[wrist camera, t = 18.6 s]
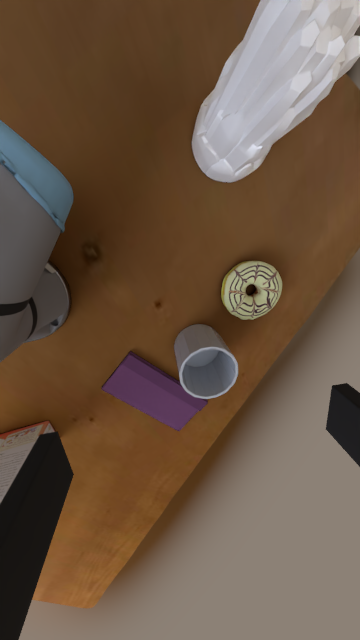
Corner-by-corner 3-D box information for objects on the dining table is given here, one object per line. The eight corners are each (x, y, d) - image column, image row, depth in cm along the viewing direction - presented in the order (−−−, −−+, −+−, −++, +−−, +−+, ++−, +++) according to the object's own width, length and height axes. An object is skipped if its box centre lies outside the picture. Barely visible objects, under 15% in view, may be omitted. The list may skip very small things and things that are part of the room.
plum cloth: (178, 428, 53) (179, 433, 52) (101, 386, 47) (100, 390, 46) (206, 398, 51) (208, 402, 50) (130, 350, 45) (129, 354, 44)
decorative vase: (264, 99, 34) (510, -206, 11) (258, 182, 38) (431, 93, 14) (190, 97, 33) (283, -245, 10) (191, 183, 37) (260, 87, 13)
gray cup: (176, 370, 48) (182, 402, 38) (171, 327, 44) (176, 352, 35) (222, 363, 48) (238, 393, 39) (219, 320, 45) (237, 342, 36)
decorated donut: (270, 314, 46) (280, 320, 42) (217, 315, 45) (222, 322, 41) (278, 260, 42) (290, 262, 39) (221, 259, 41) (227, 261, 38)
